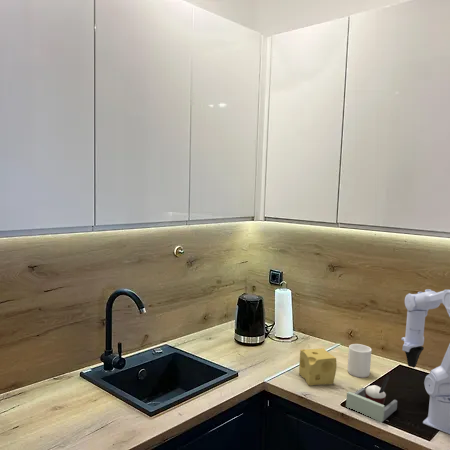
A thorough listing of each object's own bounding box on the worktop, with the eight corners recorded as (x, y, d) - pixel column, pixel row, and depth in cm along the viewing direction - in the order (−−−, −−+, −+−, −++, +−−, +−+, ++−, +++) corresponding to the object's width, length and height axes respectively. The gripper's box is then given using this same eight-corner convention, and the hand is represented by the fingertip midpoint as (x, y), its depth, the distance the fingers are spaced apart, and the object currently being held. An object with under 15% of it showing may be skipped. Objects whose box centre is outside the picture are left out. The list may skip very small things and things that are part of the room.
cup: (352, 378, 162) (354, 352, 161) (340, 364, 174) (341, 340, 173) (373, 377, 163) (375, 351, 162) (359, 364, 175) (361, 340, 174)
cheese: (308, 386, 154) (310, 359, 153) (297, 373, 164) (299, 348, 163) (335, 384, 156) (337, 358, 155) (322, 371, 166) (324, 346, 165)
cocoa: (361, 399, 147) (361, 364, 146) (379, 398, 147) (379, 364, 146) (372, 412, 137) (373, 376, 137) (391, 412, 138) (392, 375, 137)
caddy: (396, 409, 140) (397, 394, 139) (381, 422, 132) (382, 406, 131) (362, 395, 148) (363, 382, 148) (345, 407, 140) (346, 392, 139)
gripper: (411, 321, 156) (408, 357, 157) (394, 329, 145) (391, 368, 147) (431, 326, 151) (428, 363, 152) (416, 335, 141) (412, 375, 142)
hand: (411, 366), depth 149 cm, fingers closed
